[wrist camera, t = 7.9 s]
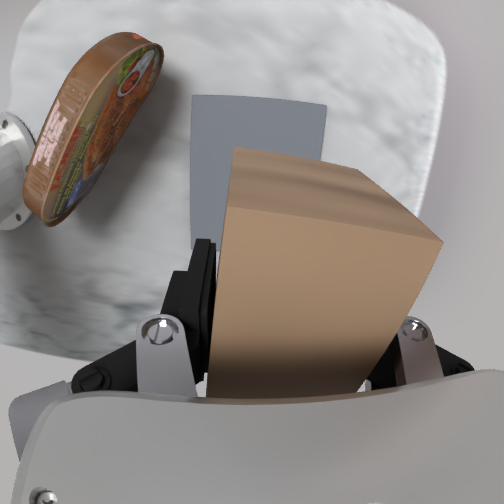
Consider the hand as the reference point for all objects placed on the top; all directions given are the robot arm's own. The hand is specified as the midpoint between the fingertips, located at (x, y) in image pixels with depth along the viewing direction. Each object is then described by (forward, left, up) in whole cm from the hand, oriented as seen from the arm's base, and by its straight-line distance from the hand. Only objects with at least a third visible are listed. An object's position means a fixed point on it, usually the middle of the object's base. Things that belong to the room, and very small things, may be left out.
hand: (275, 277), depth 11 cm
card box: (0, 0, -1) cm, 1 cm away
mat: (0, 0, -13) cm, 13 cm away
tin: (-12, +5, -14) cm, 19 cm away
